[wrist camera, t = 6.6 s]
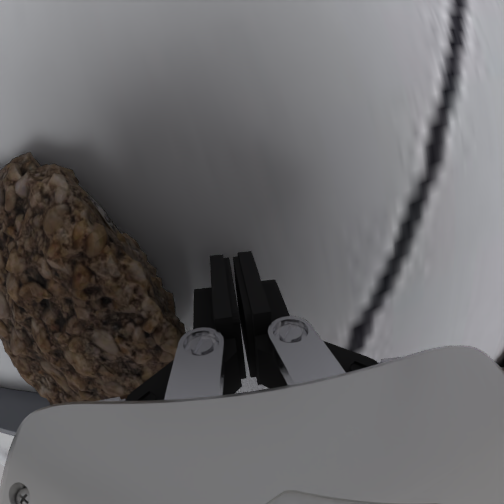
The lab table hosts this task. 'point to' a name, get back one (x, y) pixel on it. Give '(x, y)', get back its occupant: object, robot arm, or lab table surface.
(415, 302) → the lab table surface
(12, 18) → the lab table surface
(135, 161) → the lab table surface
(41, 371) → the concrete sample
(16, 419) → the tray
